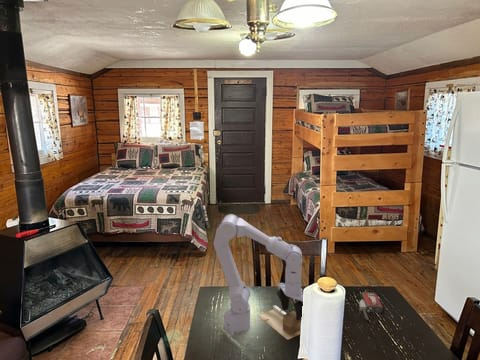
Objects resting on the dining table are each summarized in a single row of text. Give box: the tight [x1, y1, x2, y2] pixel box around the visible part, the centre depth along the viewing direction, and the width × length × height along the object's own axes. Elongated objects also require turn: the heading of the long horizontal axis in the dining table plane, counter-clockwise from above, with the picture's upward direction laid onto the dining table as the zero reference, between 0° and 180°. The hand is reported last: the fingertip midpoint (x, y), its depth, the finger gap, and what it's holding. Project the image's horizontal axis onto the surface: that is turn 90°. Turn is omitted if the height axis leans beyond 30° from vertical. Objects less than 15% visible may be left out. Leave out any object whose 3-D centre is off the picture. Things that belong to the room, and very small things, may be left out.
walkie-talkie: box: [358, 291, 384, 321], centre depth 148 cm, size 9×4×20 cm
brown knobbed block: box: [282, 310, 302, 335], centre depth 131 cm, size 8×4×6 cm, turn 123°
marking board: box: [257, 305, 301, 341], centre depth 136 cm, size 9×18×3 cm, turn 33°
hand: (292, 314), depth 130 cm, fingers open, 7 cm apart
